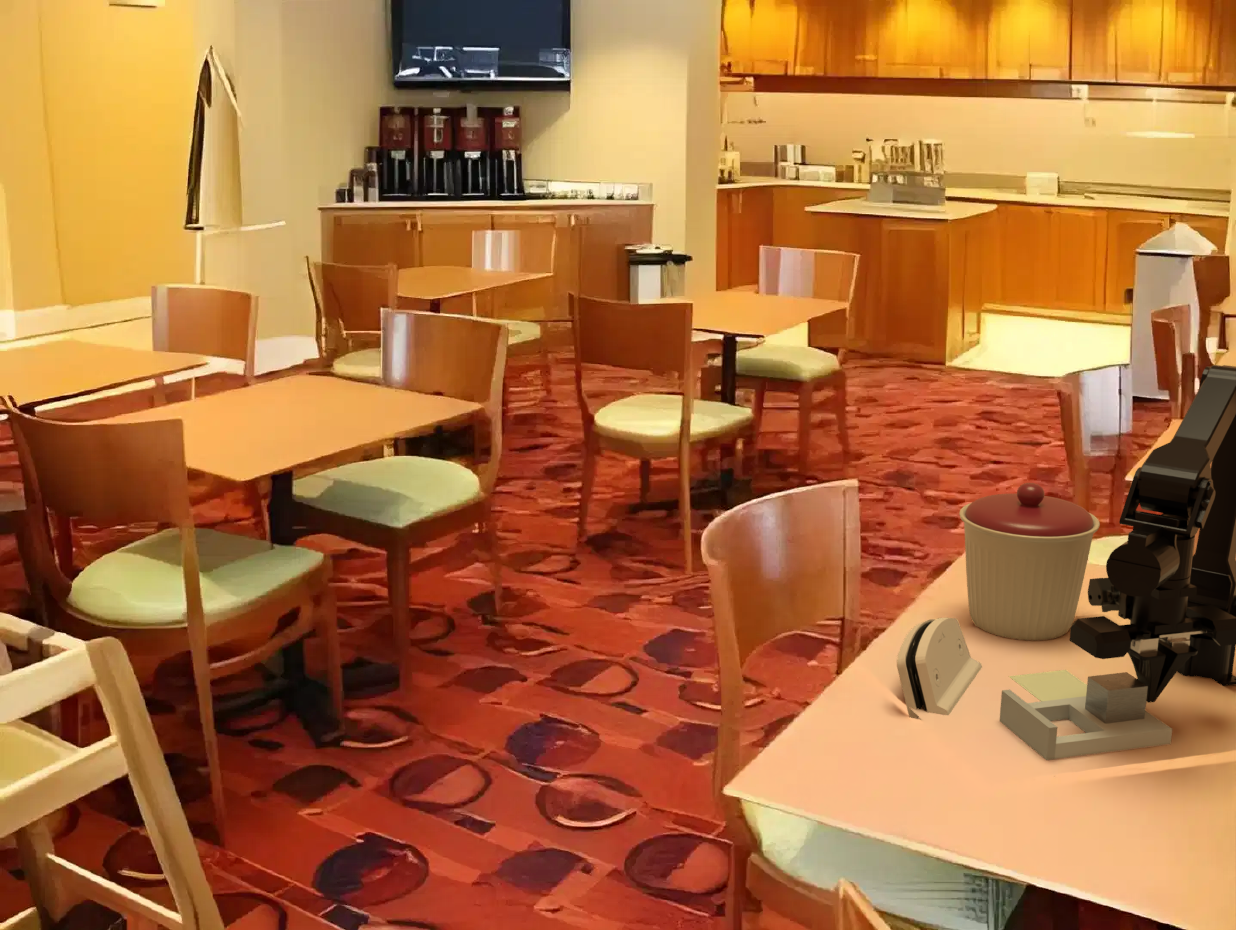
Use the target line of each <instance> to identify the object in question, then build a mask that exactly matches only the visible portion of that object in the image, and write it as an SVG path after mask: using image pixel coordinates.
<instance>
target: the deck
mask: <svg viewBox="0 0 1236 930" xmlns="http://www.w3.org/2000/svg"><path fill="white" fill-rule="evenodd" d="M1000 696H1001V697H1000V710H999V722H1000V723H1001V724H1002V725H1003V726H1004V727H1006V728H1007V729H1009V730H1010V732H1012V733H1013V734H1014V735H1016V737H1018V738H1019V739H1021V740H1022V742H1024V743H1025V744H1026V745H1027V746H1029V747H1030V748H1031V749H1032V750H1033V751H1035V752H1036V753H1037V754H1038V755H1039V756H1041V757H1042V758H1043V759H1044V760H1046V761H1051V760H1059V759H1069V758H1075V757H1076V758H1077V757H1081V756H1082V757H1083V756H1089V755H1090V756H1091V755H1098V754H1105V753H1113V752H1121V751H1127V750H1128V751H1129V750H1136V749H1144V748H1153V747H1159V746H1167V745H1171V744H1172V737H1173V736H1172V735H1173V734H1172V733H1173V728H1172V727H1170V726H1169V725H1167V724H1166V723H1165V722H1164V721H1162V720H1160V719H1158V718H1157V717H1156V716H1155V715H1153V714H1152V713H1150V712H1149V711H1147V710H1146V709H1145V718H1144V719H1139V720H1131V721H1123V722H1115V723H1107V724H1105V723H1104V722H1102V721H1101V720H1100V719H1098V718H1097V717H1095V716H1094V715H1093V714H1091V713H1090V712H1089V711H1087V710H1086V709H1085V703H1086V696H1083V697H1075V698H1066V699H1058V700H1049V701H1034V702H1026V701H1025V699H1022V698H1021V697H1020V696H1019V695H1017V694H1016V693H1015V692H1013V691H1012V690H1011V689H1009V688H1008V689H1002V690H1001V695H1000ZM1064 720H1069V721H1070V722H1072V723H1073V724H1074V725H1076V726H1077V727H1078V728H1079V729H1080V730H1082V731H1084V732H1083V733H1082V732H1081V733H1075V734H1067V735H1058V726H1057V725H1056V724H1055V723H1053V722H1054V721H1064Z"/></svg>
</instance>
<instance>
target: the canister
mask: <svg viewBox="0 0 1236 930" xmlns="http://www.w3.org/2000/svg"><path fill="white" fill-rule="evenodd" d="M958 513H959V514H958V515H959V517H960V519H961V521H962V522H963V524H964V526H963V527H964V529H963V530H964V546H965V547H964V548H965V569H966V570H965V571H966V587H967V588H966V589H967V601H968V602H967V603H968V609H969V610H968V611H969V616H970V618H971V620H972V622H973V624H974V626H975V627H976V628H977V627H978V628H979V629H981V630H983V631H984V632H987V633H989V634H992V635H995V636H996V637H997V636H998V637H1000V638H1001V637H1002V638H1005V639H1011V640H1012V639H1013V640H1018V641H1021V640H1022V641H1033V642H1035V641H1048V640H1054V639H1057V638H1061V637H1062V636H1064V635H1065V634H1067V633H1068V632H1069V630H1071V626H1072V623H1073V622H1074V621H1075V617H1076V612H1077V609H1078V605H1079V601H1080V596H1081V594H1082V593H1081V591H1082V587H1083V583H1084V579H1085V575H1086V574H1085V573H1086V569H1087V564H1088V560H1089V555H1090V551H1091V546H1092V541H1093V536H1094V534H1095V533H1096V532H1097V531H1098V530H1099V528H1100V527H1101V526H1100V525H1101V524H1100V521H1099V519H1098V518H1097V517H1096V516H1095V515H1094V514H1093V513H1090V512H1088V511H1087V510H1086V508H1084V507H1083V506H1081V505H1078V504H1076V503H1074V502H1072V501H1069V500H1065V499H1062V498H1059V497H1053V496H1047V495H1045V490H1044V488H1043V487H1042V486H1041V485H1040V484H1039V483H1035V482H1025V483H1024V482H1023V483H1022V484H1021V485H1019V486H1018V488H1017V491H1016V493H1001V494H1000V493H999V494H997V493H996V494H991V495H987V496H983V497H980V498H978V499H975V500H974V501H972V502H970V503H967V504H965V505H963V507H962V508H960V510H959V512H958Z"/></svg>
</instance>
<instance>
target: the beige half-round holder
mask: <svg viewBox="0 0 1236 930" xmlns="http://www.w3.org/2000/svg"><path fill="white" fill-rule="evenodd" d="M965 639H966V638H965V635H964V634H963V630H962V628H961V626H960V622H959V620H958V618H956V617H940V618H939V617H938V618H936V619H935V618H934V619H928V620H925V621H922V622H920V623H918V624H915V626H913V627H912V628H911V629H910V630H909V631H908V632H907V634H906V635H905V638H904V639H903V641H902V643H901V645H900V648H899V651H898V653H897V654H898V655H897V656H896V657H897V658H896V668H897V673H898V676H899V681H900V684H901V689H902V693H903V698H904V701H905V704H906V710H907V713H908V717H909V718H911V719H919V718H920V716H919V714H917V713H916V712H915V711H914V710H922V709H923V710H924V711H926V712H927V713H931V714H935V715H945V716H950V714H951V713H952V711H953V710H954V709H955V707H956V705H957V704H958V703H959V701H960V700H961V698H962V697H963V695H964V694H965V692H966V691H967V689H968V688H969V687H970V685H971V684H972V682H973V681H974V680H975V678H976V677H977V675H978V674H979V672H980V671H981V670H982V668H983V665H982V663H981V662H980V661H978V660H977V659H975V658H973V657H972V656H971V654H970V650H969V648H968V644H967V643H966V640H965ZM913 709H914V710H913Z"/></svg>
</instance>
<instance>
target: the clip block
mask: <svg viewBox="0 0 1236 930" xmlns="http://www.w3.org/2000/svg"><path fill="white" fill-rule="evenodd" d="M1086 684H1087V692H1086V703H1085V709H1086V710H1087V711H1089V712H1090V713H1091V714H1093V715H1094V716H1095V717H1097V718H1098V719H1100V720H1101V721H1102V722H1104V723H1105V724H1107V723H1115V722H1123V721H1131V720H1139V719H1144V718H1145V710H1146V709H1147V708H1146V707H1147V705H1146V704H1147V702H1146V699H1147V690H1148V686H1147V685H1145V684H1144V683H1142V682H1141V681H1139V680H1138V679H1137V677H1135V676H1133V675H1132V674H1130V673H1128V672H1126V671H1125V672H1115V673H1107V674H1106V673H1105V674H1099V675H1088V676H1087V683H1086Z"/></svg>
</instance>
